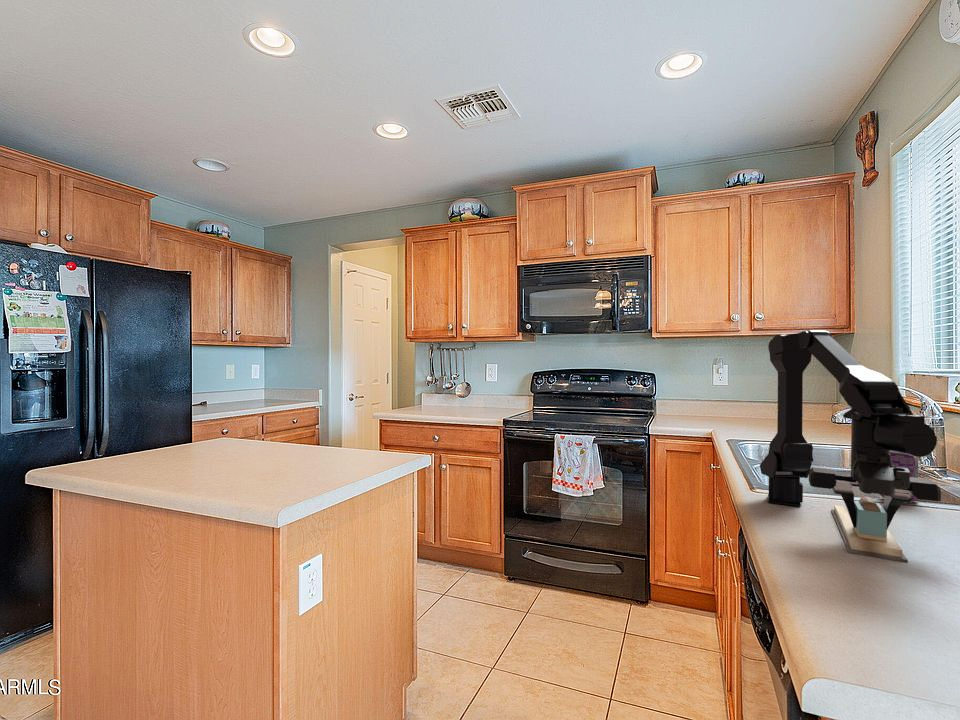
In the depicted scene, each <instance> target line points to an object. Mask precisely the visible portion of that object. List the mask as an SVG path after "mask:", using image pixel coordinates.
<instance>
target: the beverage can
mask: <svg viewBox="0 0 960 720" xmlns="http://www.w3.org/2000/svg"><path fill="white" fill-rule="evenodd" d="M890 463H891V465H892V468H894V467H900V468H908V469H909V472H910V477H915V478H919V460H918V457H916V456H912V455H907V454H903V453H899V452H895V451H890ZM878 495H880V496H881V497H882V498H884V496H885V495H884V494H878ZM910 498H911V499H912V502H911V503H913V502H918V500H919V499H917V498H916V497H915V496H914V495H913V494H912V493H911V495H910Z"/></svg>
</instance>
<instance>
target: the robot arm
mask: <svg viewBox="0 0 960 720" xmlns="http://www.w3.org/2000/svg"><path fill="white" fill-rule="evenodd" d="M768 352H769V361H770V362H771V364H772V366H773V367H774V368H775V371H777V431H776V434H775V435H774V437H773V439H772V440H771V441H770V442H769V445H768V446H769V447H768V454H767V455H766V456H765V457H764V459H762V461H761V462H760V463H759V468H760V469H759V470H760V473H761V475H764V476H767V477H768V494H767V502H768V503H771V504H778V505H785V506H793V507H801V506H802V505H801V504H803V503H804V501H803V500H804V499H803V498H804V497H803V495H804V485H803V483H802V482H801V479H802V478H804V479H808V483H809V485H810V487H813V488H819V489H829V490H832V491H833V493H834V494H835V495H840V497H841V498H842V500H843V502H844V505H845V507H847V510H848V513H849V516H850V519H851V522H852V524H853V527H855V528H856V522H857V519H856V511H855V504H854V501H855V494H854V491H853V490H852V488H853V487H857V488H859V491H860V492H862V493H863V494H868V495H870V494H878V495H879V494H884V495H885V496H884V497H883V506H882V508H883V509H884V510H885V511H886V513H887V529H888V530H889V527H890V525H891V523H892V520H893V519H894V516H895V514H896V512H897V511H898V510H899V509H900V508H901V506H902V505H904V504H906V503H905V502H908V503H907V504H910V503H913V502H912V499H911V498H910V495H911V493H912V494H913V495H914V496H915V497H916V498H917V499H918V500H922V501H932V502H941V501H942V491H941V486H938V484H936V483H935V482H934V481H932V480H931V479H929V478H925V477H924V478H923V477H918V478H915V477H910V472H909V469H908V468H900V467H894V468H892V465H891V463H890V451H895V452H899V453H903V454H907V455H912V456H916V457H917V458H923V457H926V456H928V455H930V454H931V453H932V452H933V451H934V450H935V449H936V446H937V443H938V436H937V435H936V433H935V431H934V429H933V428H932V427H931V426H930V425H928V424H926V420H925V419H926V418H925V416H924V415H917V414H915V415H914V413H913V412H912V409H911V407H910V406H909V405H908V403H907V402H906V400H905V398H904V397H903V395H902V393H901V391H900V389H899V386H898V385H897V384H896V382H895V381H894V380H892V379H891V378H889V377H888V376H885V375H884V374H883V373H881V372H878V371H875V370H872V369H869V368H867V367H865V366H864V365H862V364H861V363H860V362H859V361H858V360H857V359H856V358H855V357H854V356H852V354H850V353H849V352H848V351H847V350H846V349H845V348H844V347H843V346H842V345H841V344H840V343H838V341H836V340H835V339H834V338H833V336H832V334H831V332H829V331H827V330H824V329H817V330H816V329H811V330H810V329H806V330H804V331H801V332H797V333H796V332H795V333H791V334H776V335H774V336H773V337H772V339H770V341H769V342H768ZM812 356H813V357H814V358H815V359H816V360H817V361H818V362H819V363H820V365H822V366H823V367H824V368H825V369H826V370H827V371H828V373H830V374H831V376H832V377H834V378H835V379H836V381H837V382H838V383H839V386H838V387H839V388H838V391H839V393H840V395H841V396H842V398H843V399H844V401H845V402H846V404H847V405H848V406H849V407H850V410H848V411H846V412H845V413H844V414H843V415H842V416H843V418H844V419H849V420H851V425H850V426H851V428H850V429H851V432H850V433H851V434H850V435H851V437H850V439H851V440H850V475H846V474H837V473H835V471H834V468H833V469H831V468H822V467H813V466H812V464H813V462H814V457H813V451H814V446H813V444H812V443H808V441H807V440H806V438H805V436H804V434H803V414H804V413H803V404H804V403H803V401H804V400H803V394H804V389H803V388H804V386H803V385H804V372H805V371H806V369H807V367H808V366H809V365H810V363H811V361H812Z"/></svg>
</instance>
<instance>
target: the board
mask: <svg viewBox="0 0 960 720" xmlns="http://www.w3.org/2000/svg"><path fill="white" fill-rule="evenodd" d="M831 511H832V512H831V514H832V516H833V519H834V518H835V519H834V521H835V523H837V524H836V526H837V529H838V530H840V531H839V533H840V535H841V538H842V541H843V542H844V544H845V547H846V549H847V552H848V553H850V554H855V555H862V556H865V557H866V556H868V557H872V558H880V559H884V560H885V559H886V560H890V561H891V560H893V561H897V562H904V563H908V558H907V557H906V555H905V554H904V553H903V548H901V546H900V544H899V543H898V541H897V540H896V539H895V538H894V536H893V535H892V533H891V532H890V531H889V528H888V529H887V541H880V540H873V539H867V538H860V537H858V535H857V533H856V531H855V529H854V527H853V524H852V522H851V519H850V516H849V513H848V510H847V507H846V506H844V505H836V504H834V508H831Z"/></svg>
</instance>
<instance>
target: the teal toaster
mask: <svg viewBox="0 0 960 720" xmlns="http://www.w3.org/2000/svg"><path fill="white" fill-rule="evenodd" d="M854 504H855V511H856V519H857V522H856V528H855V527H854V529H855V531H856V533H857V535H858V537H860V538H867V539H873V540H880V541H887V513H886V511H885V510H884V509H883V506H882V505H881V503H877V502H875V500H874V499H873V498H871V497H870V496H861V497H860V498H859V500H854Z"/></svg>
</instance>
